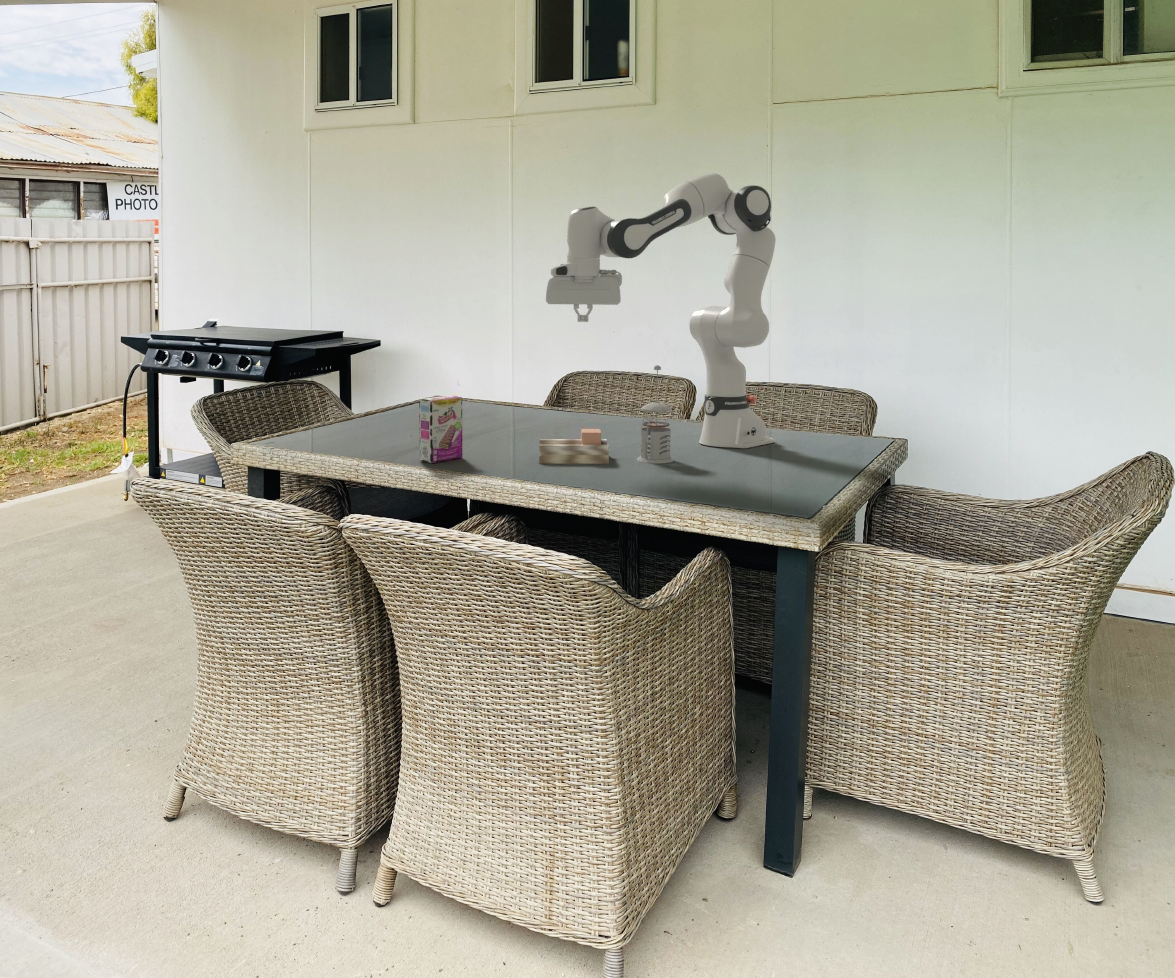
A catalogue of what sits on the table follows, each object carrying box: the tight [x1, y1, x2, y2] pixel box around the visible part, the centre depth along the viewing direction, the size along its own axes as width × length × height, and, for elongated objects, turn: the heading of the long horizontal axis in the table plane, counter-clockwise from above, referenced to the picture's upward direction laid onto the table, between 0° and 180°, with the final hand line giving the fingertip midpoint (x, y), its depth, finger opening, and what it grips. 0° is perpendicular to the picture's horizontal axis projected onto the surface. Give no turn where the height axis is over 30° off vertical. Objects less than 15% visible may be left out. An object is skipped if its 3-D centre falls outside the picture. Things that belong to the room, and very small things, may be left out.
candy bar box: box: [418, 395, 463, 464], centre depth 253 cm, size 11×5×16 cm, turn 141°
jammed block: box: [580, 428, 602, 445], centre depth 257 cm, size 5×6×6 cm
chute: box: [538, 438, 610, 465], centre depth 257 cm, size 18×12×4 cm, turn 92°
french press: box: [636, 364, 674, 464], centre depth 254 cm, size 10×12×25 cm
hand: (582, 321), depth 264 cm, fingers closed
